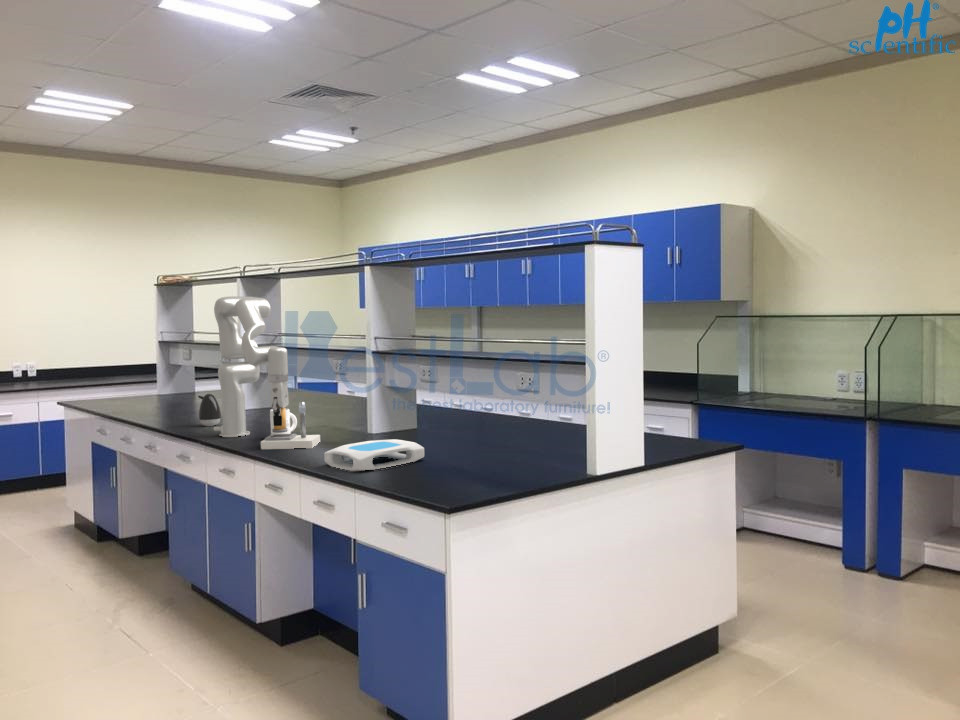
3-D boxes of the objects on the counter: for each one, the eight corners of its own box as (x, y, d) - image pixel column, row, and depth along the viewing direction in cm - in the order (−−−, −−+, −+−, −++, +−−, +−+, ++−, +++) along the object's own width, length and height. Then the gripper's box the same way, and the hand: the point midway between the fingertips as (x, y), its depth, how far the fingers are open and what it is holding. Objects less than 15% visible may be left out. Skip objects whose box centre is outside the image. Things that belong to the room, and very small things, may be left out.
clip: (306, 442, 298) (305, 405, 297) (300, 442, 297) (298, 406, 296) (306, 436, 312) (305, 401, 311) (300, 436, 311) (299, 401, 310)
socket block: (260, 449, 304) (260, 439, 304) (271, 443, 318) (270, 433, 318) (312, 448, 304) (312, 438, 303) (320, 442, 318) (319, 432, 317)
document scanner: (323, 466, 270) (323, 448, 270) (388, 454, 290) (388, 437, 289) (359, 474, 255) (359, 455, 255) (425, 461, 274) (425, 443, 274)
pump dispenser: (204, 424, 377) (203, 392, 376) (225, 424, 376) (223, 392, 375) (194, 427, 367) (192, 395, 366) (215, 427, 366) (213, 394, 365)
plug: (270, 432, 308) (269, 407, 307) (274, 430, 314) (273, 405, 313) (285, 432, 308) (284, 407, 307) (289, 430, 314) (288, 405, 313)
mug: (302, 436, 333) (301, 408, 332) (277, 440, 325) (276, 411, 324) (292, 434, 339) (291, 406, 338) (267, 438, 331) (266, 409, 330)
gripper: (282, 381, 301) (283, 428, 302) (293, 376, 318) (294, 421, 319) (262, 381, 301) (264, 428, 302) (274, 376, 318) (276, 421, 319)
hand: (279, 424), depth 311 cm, fingers closed on plug, 4 cm apart
